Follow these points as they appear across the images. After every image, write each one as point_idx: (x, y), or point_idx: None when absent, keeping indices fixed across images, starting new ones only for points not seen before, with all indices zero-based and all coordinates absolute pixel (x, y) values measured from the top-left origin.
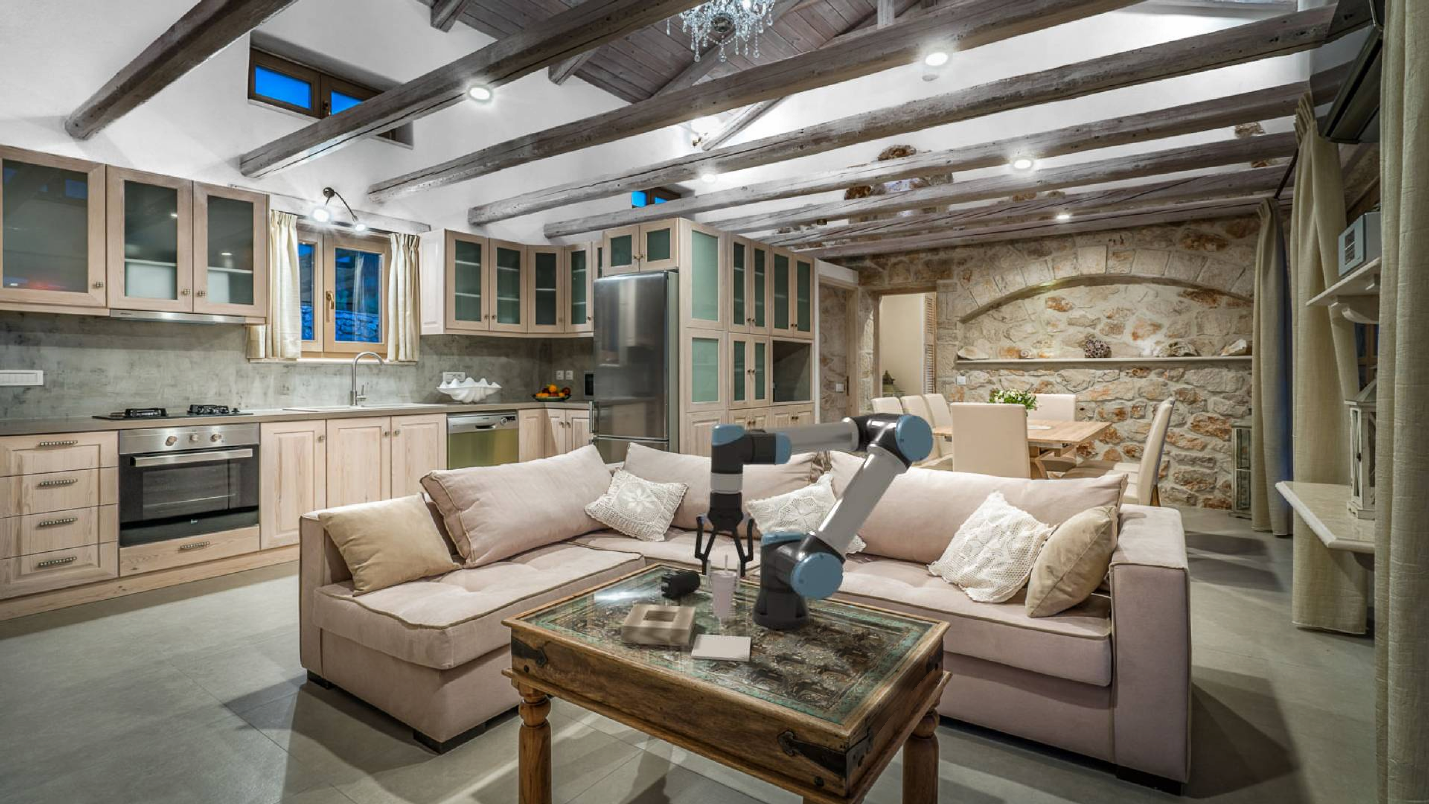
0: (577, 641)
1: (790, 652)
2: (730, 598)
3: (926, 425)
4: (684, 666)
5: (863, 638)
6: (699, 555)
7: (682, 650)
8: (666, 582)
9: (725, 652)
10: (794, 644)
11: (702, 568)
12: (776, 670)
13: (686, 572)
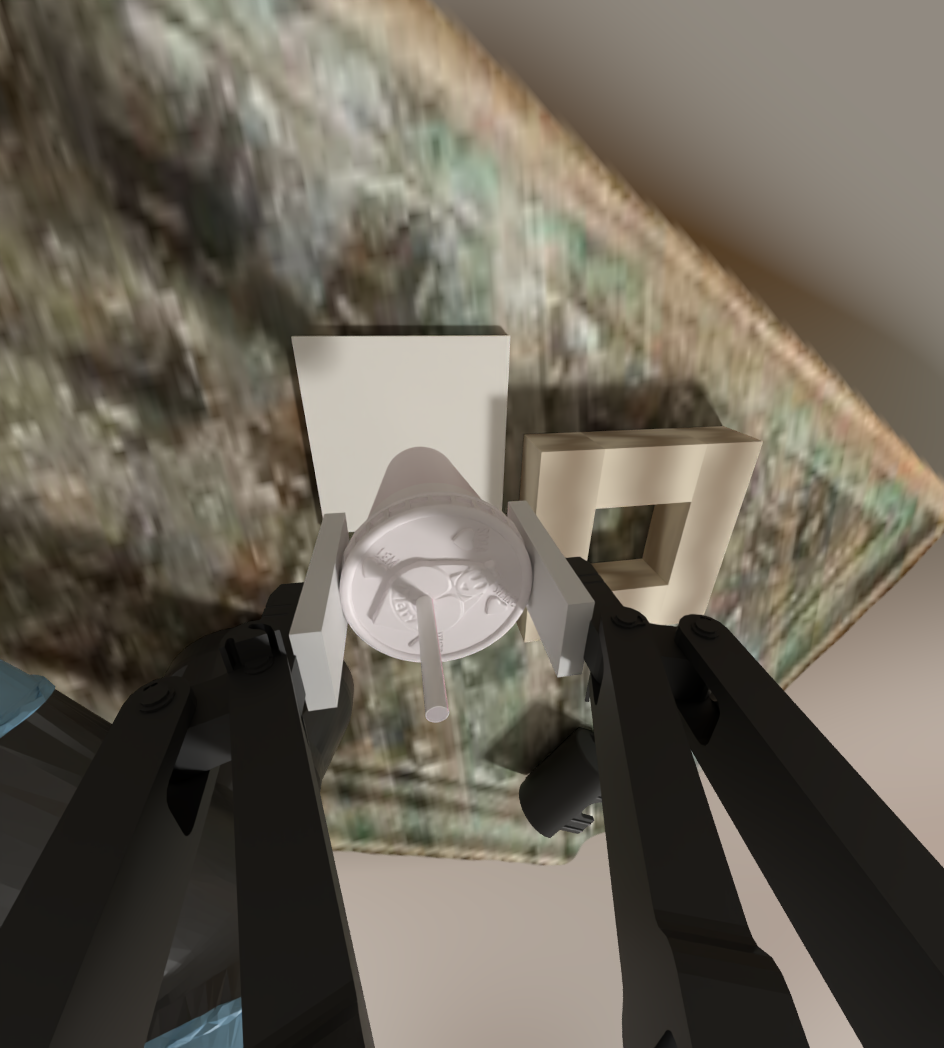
0: (838, 410)
1: (156, 453)
2: (380, 490)
3: None
4: (525, 250)
5: None
6: (687, 637)
7: (538, 399)
8: None
9: (390, 385)
10: (163, 525)
11: (600, 582)
12: (158, 260)
13: (567, 818)
